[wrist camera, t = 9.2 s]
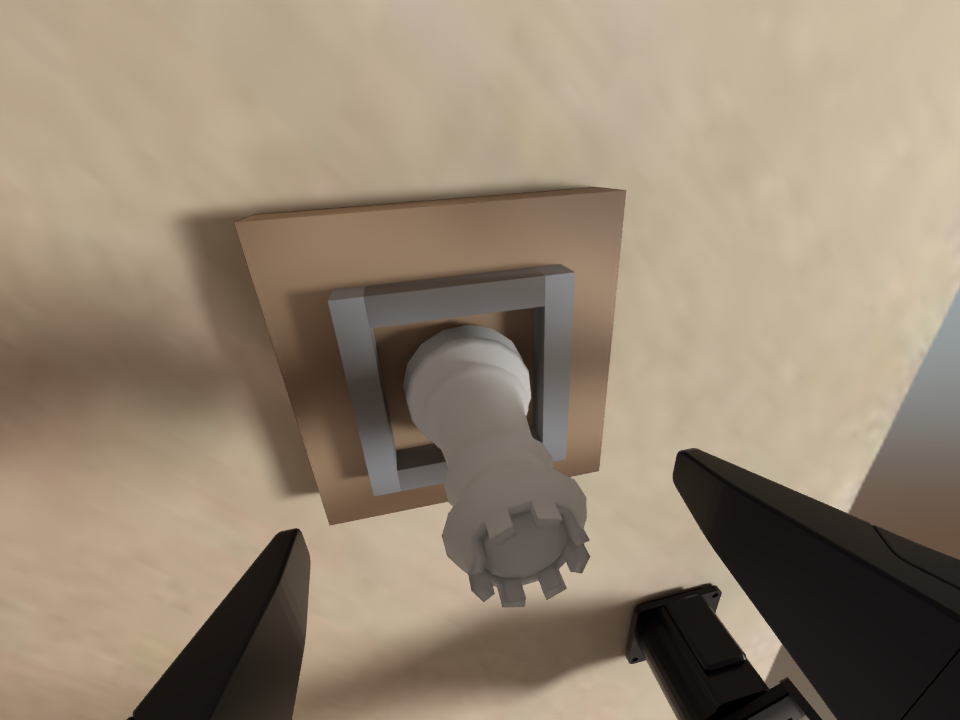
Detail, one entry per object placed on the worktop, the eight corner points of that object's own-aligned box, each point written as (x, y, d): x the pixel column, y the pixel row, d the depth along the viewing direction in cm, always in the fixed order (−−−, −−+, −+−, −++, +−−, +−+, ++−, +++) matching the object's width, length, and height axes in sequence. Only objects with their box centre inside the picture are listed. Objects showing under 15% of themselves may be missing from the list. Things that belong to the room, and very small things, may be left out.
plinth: (580, 444, 20) (611, 489, 18) (334, 490, 18) (326, 549, 16) (597, 187, 15) (646, 192, 12) (254, 214, 13) (218, 228, 10)
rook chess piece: (534, 399, 16) (648, 583, 9) (430, 443, 16) (464, 663, 9) (501, 300, 14) (616, 439, 7) (381, 349, 14) (374, 540, 7)
